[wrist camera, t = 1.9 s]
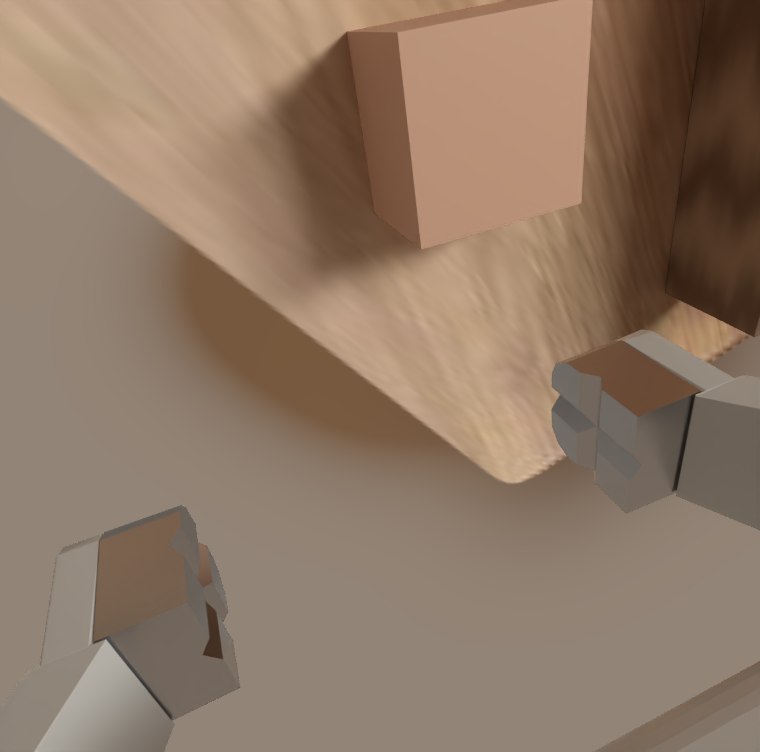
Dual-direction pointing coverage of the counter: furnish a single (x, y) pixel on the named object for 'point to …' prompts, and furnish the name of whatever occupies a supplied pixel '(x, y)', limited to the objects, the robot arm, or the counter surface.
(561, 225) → the counter surface
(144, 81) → the counter surface
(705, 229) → the walnut board
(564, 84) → the terracotta block
